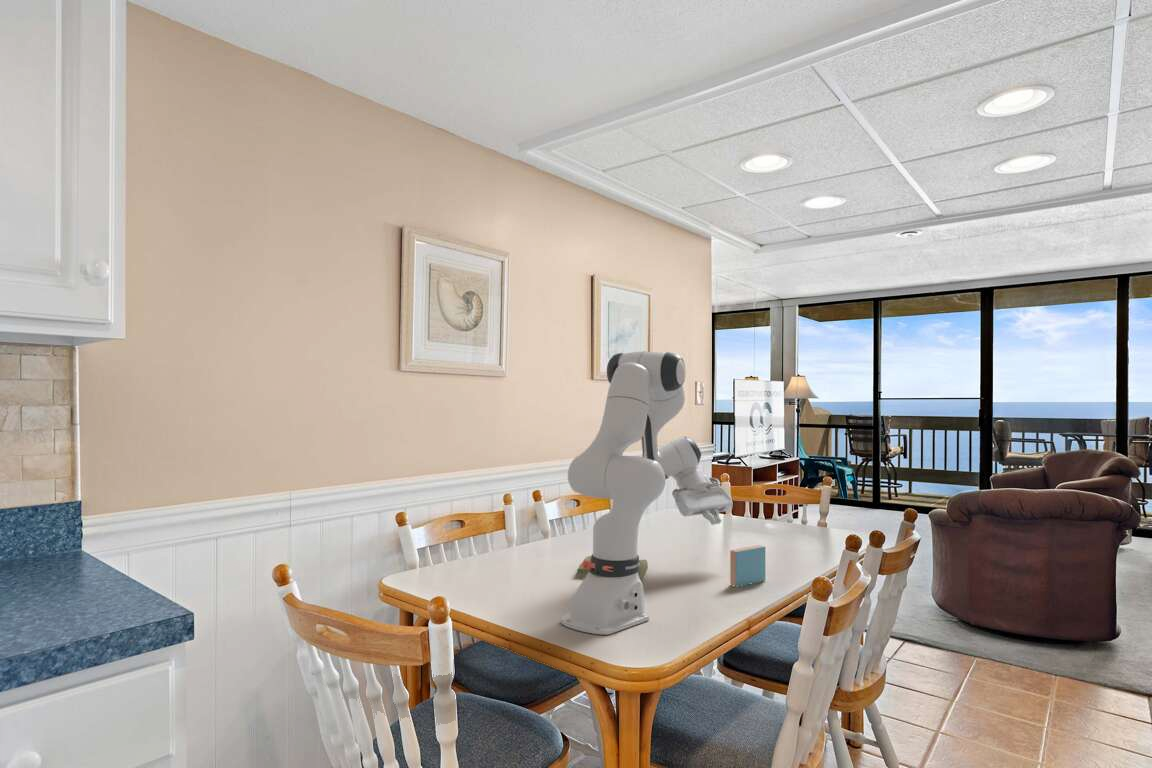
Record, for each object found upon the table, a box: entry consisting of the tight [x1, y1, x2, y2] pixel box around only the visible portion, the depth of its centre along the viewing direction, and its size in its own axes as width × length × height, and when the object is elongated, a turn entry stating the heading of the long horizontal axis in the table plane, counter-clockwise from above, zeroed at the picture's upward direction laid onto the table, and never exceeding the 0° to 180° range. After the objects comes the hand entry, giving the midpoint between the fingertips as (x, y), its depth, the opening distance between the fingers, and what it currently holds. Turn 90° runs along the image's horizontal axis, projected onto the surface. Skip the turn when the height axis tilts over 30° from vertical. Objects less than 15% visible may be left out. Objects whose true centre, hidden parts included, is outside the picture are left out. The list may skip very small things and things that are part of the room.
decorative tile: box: [575, 555, 649, 583], centre depth 193 cm, size 19×20×4 cm
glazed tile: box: [729, 544, 766, 587], centre depth 183 cm, size 12×2×10 cm, turn 123°
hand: (717, 523), depth 194 cm, fingers closed
